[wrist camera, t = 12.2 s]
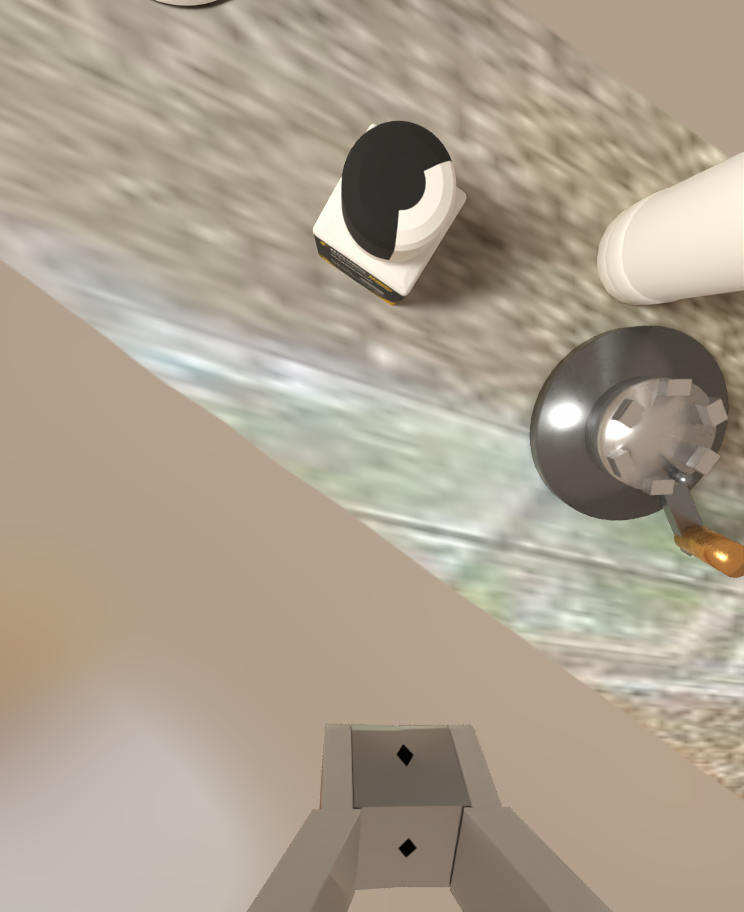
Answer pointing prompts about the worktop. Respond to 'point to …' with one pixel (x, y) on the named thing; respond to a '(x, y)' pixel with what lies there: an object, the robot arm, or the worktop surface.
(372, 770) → the robot arm
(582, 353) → the flange
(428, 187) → the medicine bottle
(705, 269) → the bottle
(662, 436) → the crank handle dial
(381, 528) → the worktop surface
